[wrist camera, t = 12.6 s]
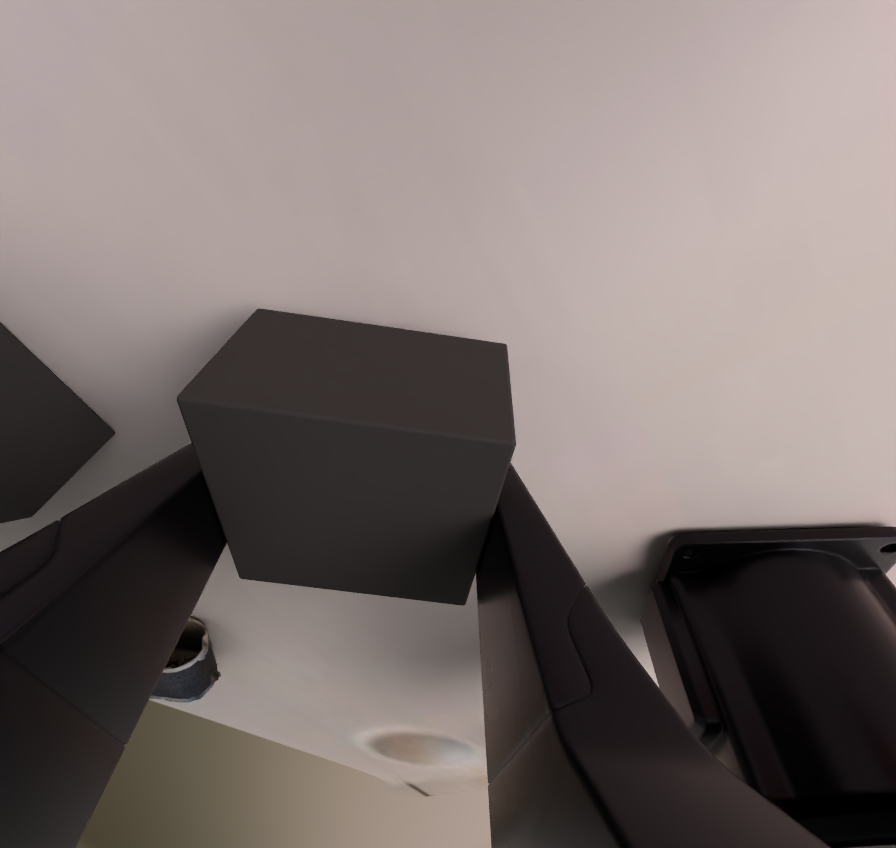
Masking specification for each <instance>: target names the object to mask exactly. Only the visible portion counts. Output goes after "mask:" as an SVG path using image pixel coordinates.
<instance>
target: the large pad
mask: <svg viewBox="0 0 896 848" xmlns="http://www.w3.org/2000/svg"><path fill="white" fill-rule="evenodd" d="M114 434H115V432H114V431H113V430H112V429H111V428H110V427H109V426H108V425H107V424H106V423H105V422H104V421H103V420H102V419H101V418H100V417H99V416H98V415H97V414H95V413H94V412H93V411H92V410H91V409H90V408H89V407H88V406H87V405H86V404H85V403H84V402H83V401H82V400H81V399H80V398H79V397H78V396H77V395H76V394H74V393H73V392H72V391H71V390H70V389H69V388H68V387H67V386H66V385H65V384H64V383H63V382H62V381H61V380H60V379H59V378H58V377H57V376H56V375H55V374H53V373H52V372H51V371H50V370H49V369H48V368H47V367H46V366H45V365H44V364H43V363H42V362H41V361H40V360H39V359H38V358H37V357H36V356H35V355H34V354H32V353H31V352H30V351H29V350H28V349H27V348H26V347H25V346H24V345H23V344H22V343H21V342H20V341H19V340H18V339H17V338H16V337H15V336H14V335H13V334H11V333H10V332H9V331H8V330H7V329H6V328H5V327H4V326H3V325H2V324H1V323H0V523H4V522H9V521H14V520H19V519H24V518H29V517H32V516H33V515H34V514H35V513H36V512H37V511H38V510H39V509H40V508H41V507H42V506H43V505H44V504H45V503H46V502H47V501H48V500H49V499H50V498H51V497H52V496H53V495H54V494H55V493H56V492H57V491H58V490H59V489H60V488H61V487H62V486H63V485H64V484H65V483H66V482H67V481H68V480H69V479H70V478H71V477H72V476H73V475H74V474H75V473H76V472H77V471H78V470H79V469H80V468H81V467H82V466H83V465H84V464H85V463H86V462H87V461H88V460H89V459H90V458H91V457H92V456H93V455H94V454H95V453H96V452H97V451H98V450H99V449H100V448H101V447H102V446H103V445H104V444H105V443H106V442H107V441H108V440H109V439H110V438H111V437H112V436H113V435H114Z"/></svg>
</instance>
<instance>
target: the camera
mask: <svg viewBox="0 0 896 848" xmlns="http://www.w3.org/2000/svg"><path fill="white" fill-rule="evenodd" d="M220 676H221V674H220V672H218V670H217V663H216V660H215V657H214V654H213V651H212V647H211V644H210V641H209V638H208V632H207V630H206V629H205V627H204V625H203V624H202V623H201V622H200V621H198V620H195V619H193V618H189V620H188V622H187V624H186V626H185V628H184V630H183V632H182V634H181V636H180V638H179V640H178V642H177V644H176V646H175V648H174V650H173V652H172V654H171V656H170V658H169V660H168V662H167V664H166V666H165V668H164V670H163V672H162V674H161V676H160V678H159V680H158V682H157V684H156V686H155V688H154V690H153V692H152V694H151V696H150V698H151V699H164V700H166V701H172V702H190V701H194V700H198V699H201V698H202V697H203V696H204V695H205V694H206V693H207V692H208V691H209V690H210V689H211V688H212V686H213V684H214V682H215V681H217V680H218V679H219V677H220Z"/></svg>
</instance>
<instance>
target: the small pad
mask: <svg viewBox="0 0 896 848" xmlns="http://www.w3.org/2000/svg"><path fill="white" fill-rule="evenodd" d="M177 402H178V405H179V408H180V411H181V414H182V416H183V419H184V422H185V425H186V428H187V431H188V433H189V436H190V439H191V442H192V445H193V447H194V450H195V453H196V456H197V459H198V462H199V464H200V467H201V470H202V473H203V476H204V479H205V481H206V484H207V487H208V490H209V493H210V495H211V498H212V501H213V504H214V507H215V510H216V512H217V515H218V518H219V521H220V524H221V526H222V529H223V532H224V535H225V538H226V541H227V543H228V546H229V549H230V552H231V555H232V558H233V560H234V563H235V566H236V569H237V572H238V574H239V577H240V578H241V579H248V580H256V581H264V582H272V583H281V584H289V585H297V586H306V587H314V588H322V589H330V590H339V591H347V592H355V593H364V594H372V595H380V596H388V597H397V598H405V599H413V600H421V601H430V602H438V603H446V604H455V605H465V604H466V601H467V598H468V595H469V592H470V588H471V585H472V582H473V579H474V576H475V573H476V569H477V566H478V563H479V560H480V557H481V554H482V550H483V547H484V544H485V541H486V538H487V535H488V531H489V528H490V525H491V522H492V519H493V516H494V512H495V509H496V506H497V503H498V500H499V496H500V493H501V490H502V487H503V484H504V481H505V477H506V474H507V471H508V468H509V465H510V462H511V458H512V455H513V452H514V449H515V446H516V439H515V428H514V417H513V406H512V395H511V385H510V374H509V363H508V352H507V345H506V344H502V343H495V342H488V341H481V340H474V339H467V338H460V337H453V336H446V335H439V334H432V333H425V332H419V331H412V330H405V329H398V328H391V327H384V326H377V325H370V324H363V323H356V322H349V321H342V320H335V319H328V318H321V317H314V316H307V315H300V314H293V313H286V312H279V311H273V310H266V309H257V310H256V311H255V312H254V313H253V314H252V315H251V317H250V318H249V319H248V320H247V321H246V322H245V323H244V324H243V325H242V326H241V327H240V329H239V330H238V331H237V332H236V333H235V334H234V335H233V336H232V337H231V338H230V339H229V341H228V342H227V343H226V344H225V345H224V346H223V347H222V348H221V349H220V350H219V351H218V353H217V354H216V355H215V356H214V357H213V358H212V359H211V360H210V361H209V362H208V363H207V365H206V366H205V367H204V368H203V369H202V370H201V371H200V372H199V373H198V374H197V375H196V377H195V378H194V379H193V380H192V381H191V382H190V383H189V384H188V385H187V386H186V387H185V389H184V390H183V391H182V392H181V393H180V394H179V395H178V397H177Z"/></svg>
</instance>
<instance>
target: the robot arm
mask: <svg viewBox="0 0 896 848" xmlns="http://www.w3.org/2000/svg"><path fill="white" fill-rule="evenodd" d="M226 543H227V541H226V538H225V535H224V532H223V529H222V526H221V524H220V521H219V518H218V515H217V512H216V510H215V507H214V504H213V501H212V498H211V495H210V493H209V490H208V487H207V484H206V481H205V479H204V476H203V473H202V470H201V467H200V464H199V462H198V459H197V456H196V453H195V450H194V447H193V445H192V443H190V444H188V445H186V446H185V447H183V448H181V449H179V450H178V451H176V452H174V453H173V454H171V455H169V456H167V457H166V458H164V459H162V460H160V461H159V462H157V463H155V464H154V465H152V466H150V467H148V468H147V469H145V470H143V471H141V472H140V473H138V474H136V475H134V476H133V477H131V478H129V479H128V480H126V481H124V482H122V483H121V484H119V485H117V486H115V487H114V488H112V489H110V490H109V491H107V492H105V493H103V494H102V495H100V496H98V497H96V498H95V499H93V500H91V501H89V502H88V503H86V504H84V505H83V506H81V507H79V508H77V509H76V510H74V511H72V512H70V513H69V514H67V515H65V516H63V517H62V518H61V520H60V521H58V520H57V521H55V522H53V523H51V524H49V525H48V526H46V527H44V528H42V529H41V530H39V531H37V532H36V533H34V534H32V535H30V536H28V537H27V538H25V539H23V540H21V541H19V542H18V543H16V544H14V545H12V546H10V547H9V548H7V549H5V550H3V551H1V552H0V848H76V846H77V844H78V842H79V840H80V838H81V836H82V834H83V832H84V830H85V828H86V826H87V824H88V822H89V820H90V818H91V816H92V814H93V812H94V810H95V808H96V806H97V804H98V802H99V800H100V798H101V796H102V794H103V792H104V790H105V788H106V786H107V783H108V782H109V780H110V778H111V776H112V773H113V771H114V769H115V767H116V765H117V763H118V761H119V759H120V757H121V755H122V753H123V751H124V749H125V744H127V743H128V741H129V738H130V737H131V734H132V733H133V730H134V729H135V726H136V725H137V723H138V720H139V718H140V716H141V714H142V712H143V710H144V708H145V706H146V704H147V702H148V700H149V698H150V696H151V694H152V692H153V690H154V688H155V686H156V684H157V682H158V680H159V678H160V676H161V674H162V672H163V670H164V668H165V666H166V664H167V662H168V660H169V658H170V656H171V654H172V652H173V650H174V648H175V646H176V644H177V642H178V640H179V638H180V636H181V634H182V632H183V630H184V628H185V626H186V624H187V622H188V620H189V618H190V616H191V614H192V612H193V610H194V608H195V606H196V604H197V602H198V600H199V598H200V596H201V594H202V591H203V589H204V587H205V585H206V583H207V581H208V579H209V577H210V575H211V573H212V571H213V569H214V567H215V565H216V563H217V561H218V559H219V557H220V555H221V553H222V551H223V549H224V547H225V545H226ZM895 563H896V527H861V528H828V529H795V530H762V531H729V532H696V533H683V534H680V535H677V536H675V537H674V538H672V539H671V540H670V542H669V544H668V547H667V550H666V553H665V557H664V560H663V563H662V566H661V569H660V572H659V575H658V578H657V581H656V582H655V583H654V584H653V585H652V587H651V588H650V591H649V594H648V598H647V601H646V604H645V607H644V610H643V614H642V617H641V625H642V628H643V632H644V635H645V639H646V642H647V646H648V649H649V653H650V656H651V660H652V663H653V667H654V670H655V674H656V677H657V681H658V684H659V688H660V689H659V688H658V686H657V685H656V684H655V682H654V681H653V680H652V678H651V677H650V676H649V674H648V673H647V672H646V670H645V669H644V668H643V666H642V665H641V664H640V662H639V661H638V660H637V659H636V657H635V656H634V654H633V653H632V652H631V650H630V649H629V648H628V646H627V645H626V643H625V642H624V641H623V639H622V638H621V637H620V635H619V634H618V632H617V631H616V630H615V628H614V627H613V625H612V624H611V622H610V621H609V619H608V618H607V616H606V615H605V613H604V611H603V610H602V608H601V607H600V605H599V604H598V602H597V601H596V599H595V597H594V596H593V594H592V593H591V591H590V589H589V588H588V587H587V586H585V582H584V580H583V578H582V577H581V575H580V574H579V572H578V570H577V569H576V567H575V565H574V564H573V562H572V561H571V559H570V557H569V556H568V554H567V553H566V551H565V549H564V548H563V546H562V545H561V543H560V541H559V540H558V538H557V537H556V535H555V533H554V532H553V530H552V528H551V527H550V525H549V524H548V522H547V520H546V519H545V517H544V516H543V514H542V512H541V511H540V509H539V508H538V506H537V504H536V503H535V501H534V500H533V498H532V496H531V495H530V493H529V491H528V490H527V488H526V487H525V485H524V483H523V482H522V480H521V479H520V477H519V475H518V474H517V472H516V471H515V469H514V467H513V466H512V464H511V463H510V465H509V468H508V471H507V474H506V477H505V481H504V484H503V487H502V490H501V493H500V496H499V500H498V503H497V506H496V509H495V512H494V516H493V519H492V522H491V525H490V528H489V531H488V535H487V538H486V541H485V544H484V547H483V550H482V554H481V557H480V560H479V563H478V566H477V569H476V583H477V600H478V617H479V635H480V652H481V670H482V687H483V704H484V722H485V739H486V757H487V774H488V783H489V785H488V793H489V811H490V827H491V845H492V848H896V587H895V586H894V585H893V583H892V582H891V581H890V580H889V578H888V577H887V576H886V573H887V572H888V571H889V570H890V569H891V568H892V567H893V565H894V564H895ZM584 586H585V587H584Z"/></svg>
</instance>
